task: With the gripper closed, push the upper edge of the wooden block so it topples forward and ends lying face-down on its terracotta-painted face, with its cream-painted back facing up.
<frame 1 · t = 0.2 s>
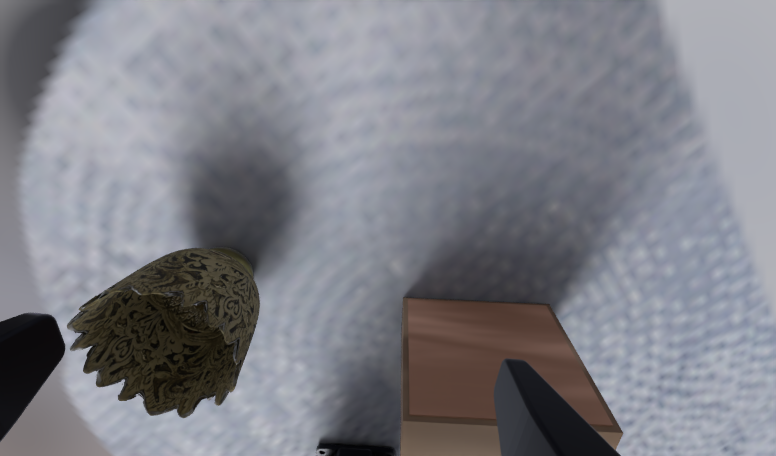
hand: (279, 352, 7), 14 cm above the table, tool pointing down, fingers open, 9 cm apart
cup: (230, 265, 24), on the table
wooden block: (473, 315, 25), on the table
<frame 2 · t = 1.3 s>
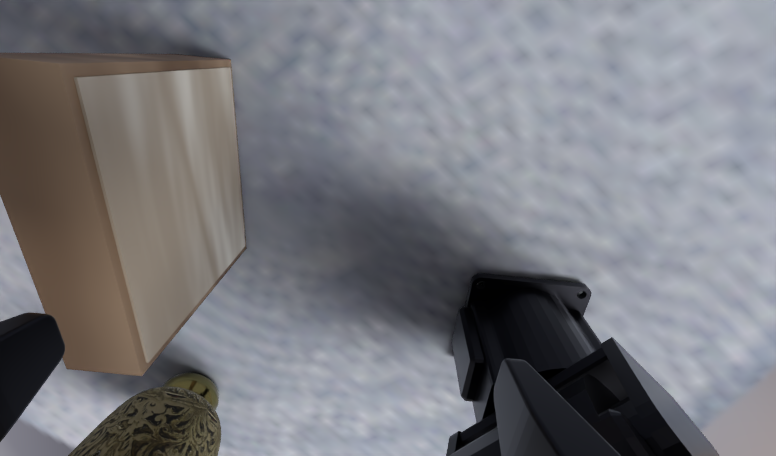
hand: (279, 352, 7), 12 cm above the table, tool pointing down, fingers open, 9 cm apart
cup: (197, 384, 25), on the table
wooden block: (214, 161, 18), on the table
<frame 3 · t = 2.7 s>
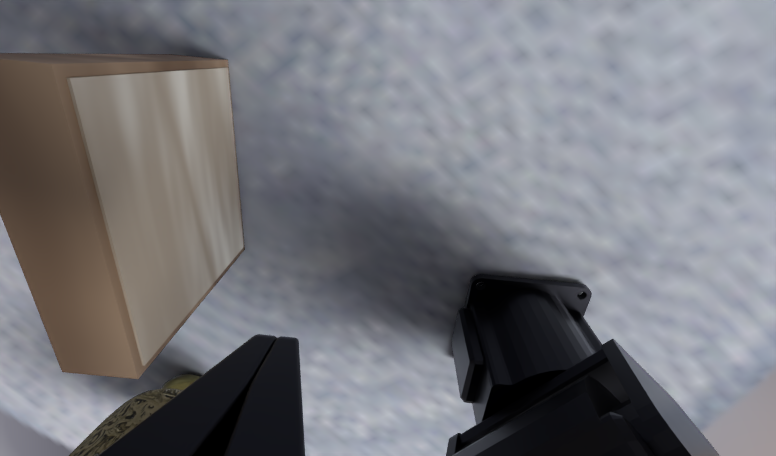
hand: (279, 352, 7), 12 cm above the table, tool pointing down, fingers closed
cup: (196, 386, 25), on the table
wooden block: (212, 162, 18), on the table
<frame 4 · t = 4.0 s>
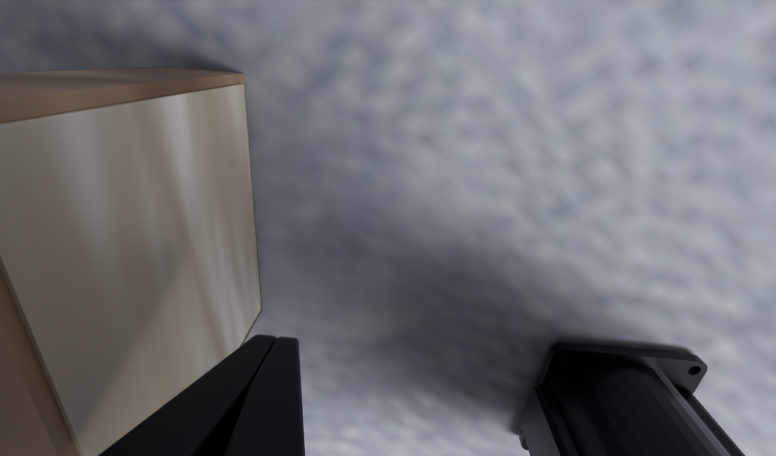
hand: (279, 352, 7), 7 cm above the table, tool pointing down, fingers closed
wooden block: (221, 205, 14), on the table
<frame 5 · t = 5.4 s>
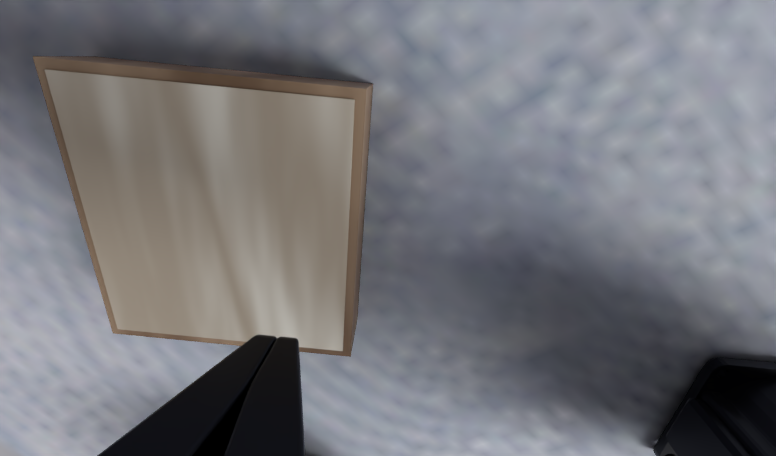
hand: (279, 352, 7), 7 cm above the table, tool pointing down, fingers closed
wooden block: (361, 228, 13), point 1 cm above the table, tilted 90°
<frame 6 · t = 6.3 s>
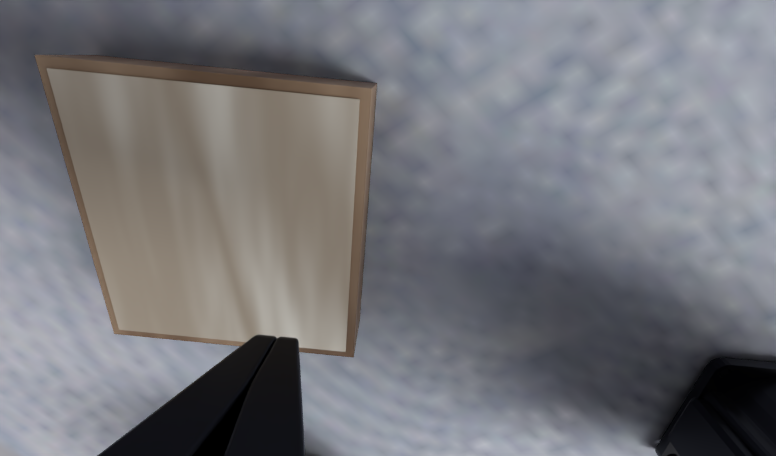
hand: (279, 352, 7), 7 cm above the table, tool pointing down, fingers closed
wooden block: (364, 229, 13), point 1 cm above the table, tilted 90°
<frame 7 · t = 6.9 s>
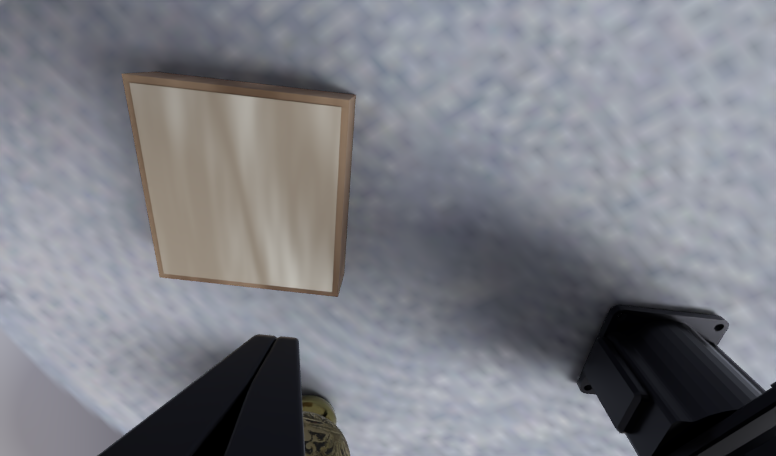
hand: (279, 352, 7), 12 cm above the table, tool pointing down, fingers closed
cup: (312, 406, 26), on the table
wooden block: (346, 200, 18), point 1 cm above the table, tilted 90°
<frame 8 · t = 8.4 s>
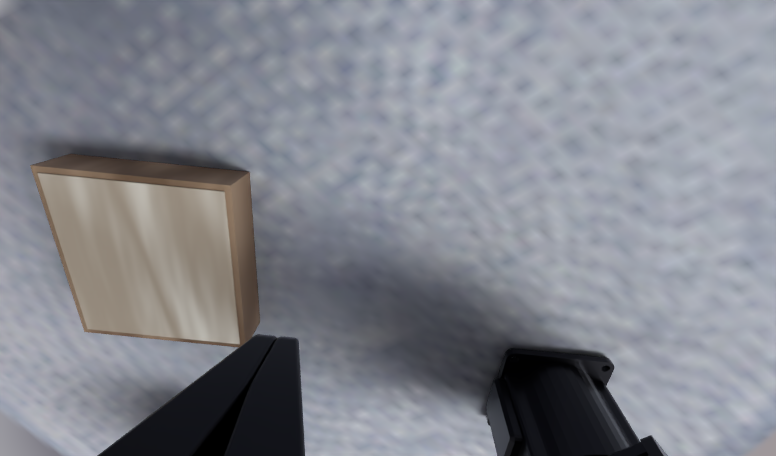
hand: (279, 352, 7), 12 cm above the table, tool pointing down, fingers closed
wooden block: (248, 263, 20), point 1 cm above the table, tilted 90°
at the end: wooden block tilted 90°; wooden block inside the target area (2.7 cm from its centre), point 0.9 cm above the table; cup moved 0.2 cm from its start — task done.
